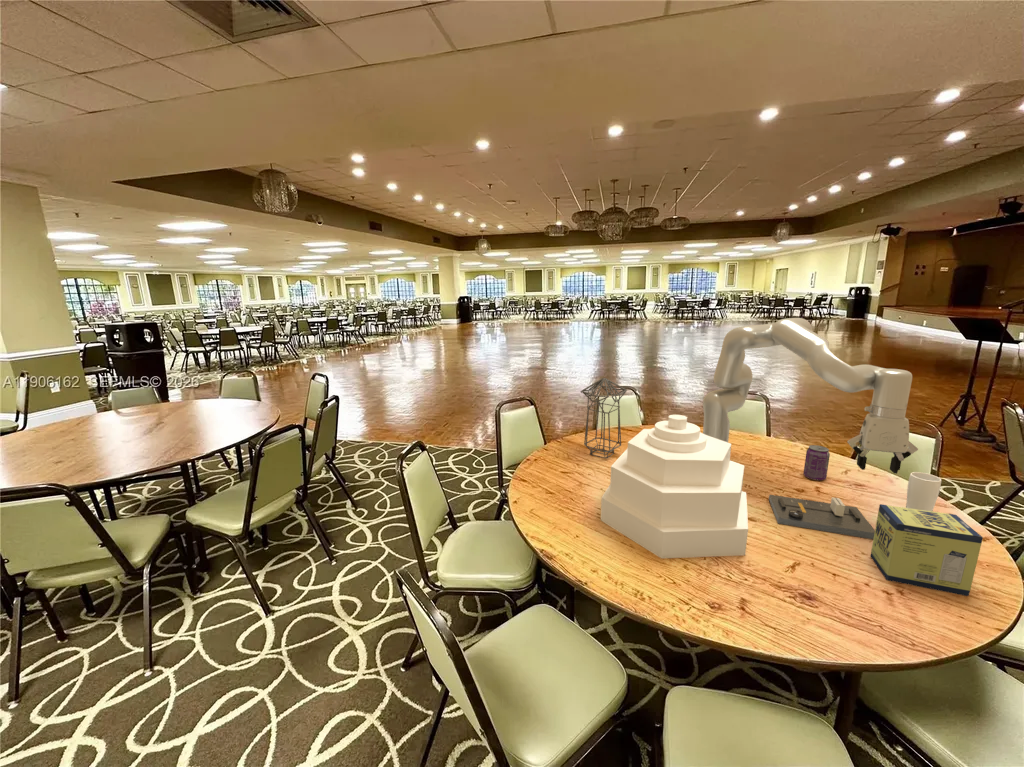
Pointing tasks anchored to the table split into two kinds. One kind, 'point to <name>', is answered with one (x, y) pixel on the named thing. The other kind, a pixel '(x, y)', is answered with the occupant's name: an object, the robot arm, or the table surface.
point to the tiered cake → (678, 493)
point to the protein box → (925, 549)
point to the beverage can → (816, 462)
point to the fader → (837, 506)
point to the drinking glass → (922, 491)
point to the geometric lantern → (596, 385)
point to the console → (820, 517)
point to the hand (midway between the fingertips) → (877, 469)
